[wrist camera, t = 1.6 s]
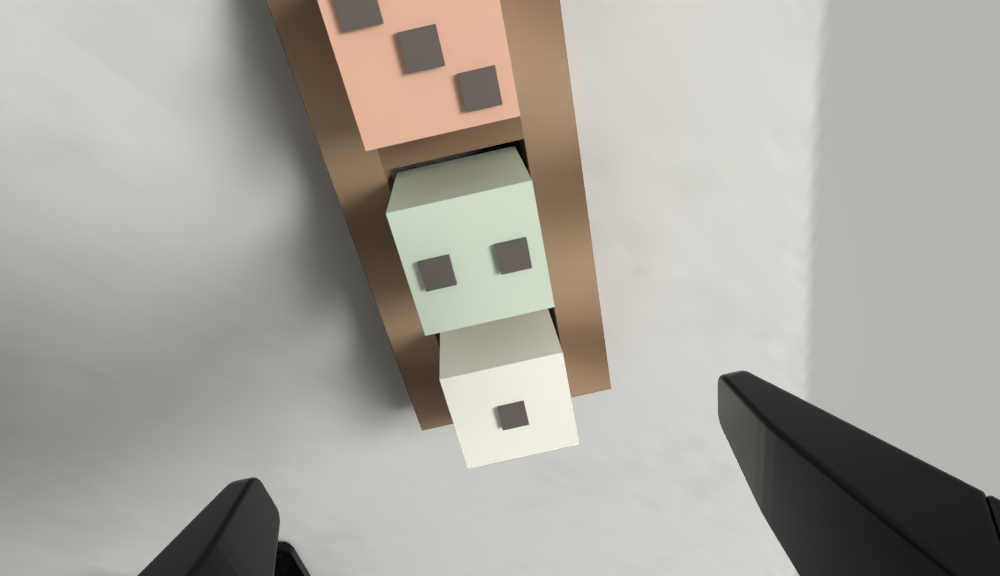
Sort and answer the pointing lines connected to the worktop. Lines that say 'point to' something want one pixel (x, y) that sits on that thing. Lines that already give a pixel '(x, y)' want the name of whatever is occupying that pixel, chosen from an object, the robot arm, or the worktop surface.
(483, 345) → the key one
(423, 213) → the key two
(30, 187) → the worktop surface
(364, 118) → the key three
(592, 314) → the board
